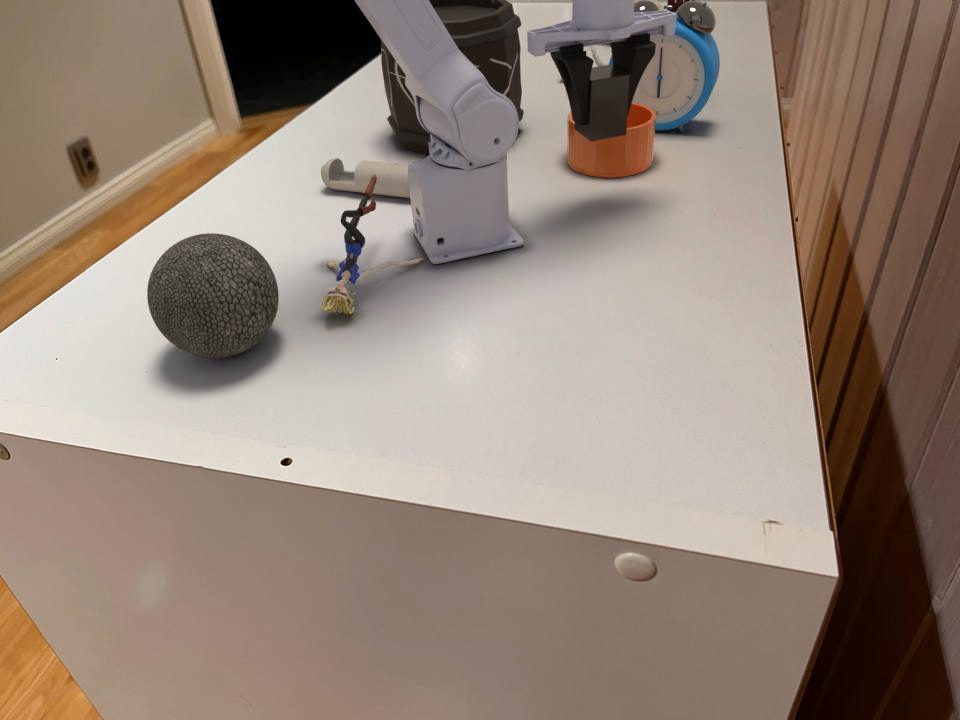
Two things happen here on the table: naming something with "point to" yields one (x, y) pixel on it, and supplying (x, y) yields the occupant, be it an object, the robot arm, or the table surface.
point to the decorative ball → (212, 295)
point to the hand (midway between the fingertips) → (599, 118)
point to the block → (606, 104)
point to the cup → (615, 147)
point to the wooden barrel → (484, 42)
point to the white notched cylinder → (368, 177)
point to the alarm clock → (680, 66)
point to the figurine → (354, 256)
